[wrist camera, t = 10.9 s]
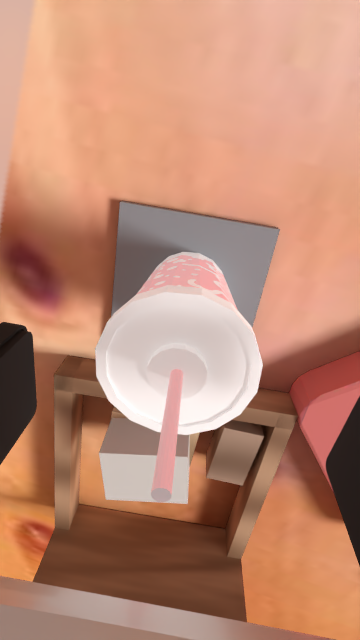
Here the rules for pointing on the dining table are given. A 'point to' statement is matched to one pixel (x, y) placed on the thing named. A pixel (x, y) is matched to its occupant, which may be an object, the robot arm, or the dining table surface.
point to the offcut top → (139, 462)
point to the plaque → (326, 403)
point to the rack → (154, 518)
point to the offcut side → (233, 451)
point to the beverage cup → (179, 357)
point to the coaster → (191, 236)
